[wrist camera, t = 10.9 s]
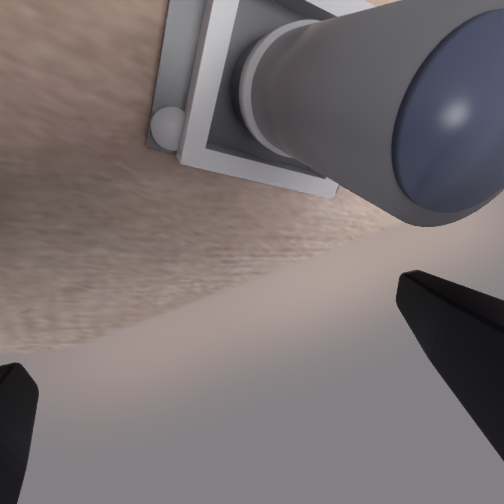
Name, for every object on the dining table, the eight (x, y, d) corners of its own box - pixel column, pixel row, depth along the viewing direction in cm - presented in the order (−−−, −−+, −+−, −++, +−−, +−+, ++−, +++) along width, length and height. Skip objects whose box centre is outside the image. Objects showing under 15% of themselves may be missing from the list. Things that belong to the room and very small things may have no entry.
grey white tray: (146, 143, 17) (147, 156, 15) (179, -68, 14) (188, -99, 11) (328, 188, 22) (352, 203, 20) (388, 39, 18) (427, 35, 16)
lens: (214, 128, 17) (329, 219, 7) (243, 9, 15) (474, -121, 5) (301, 154, 19) (487, 252, 9) (337, 52, 17) (637, 29, 7)
